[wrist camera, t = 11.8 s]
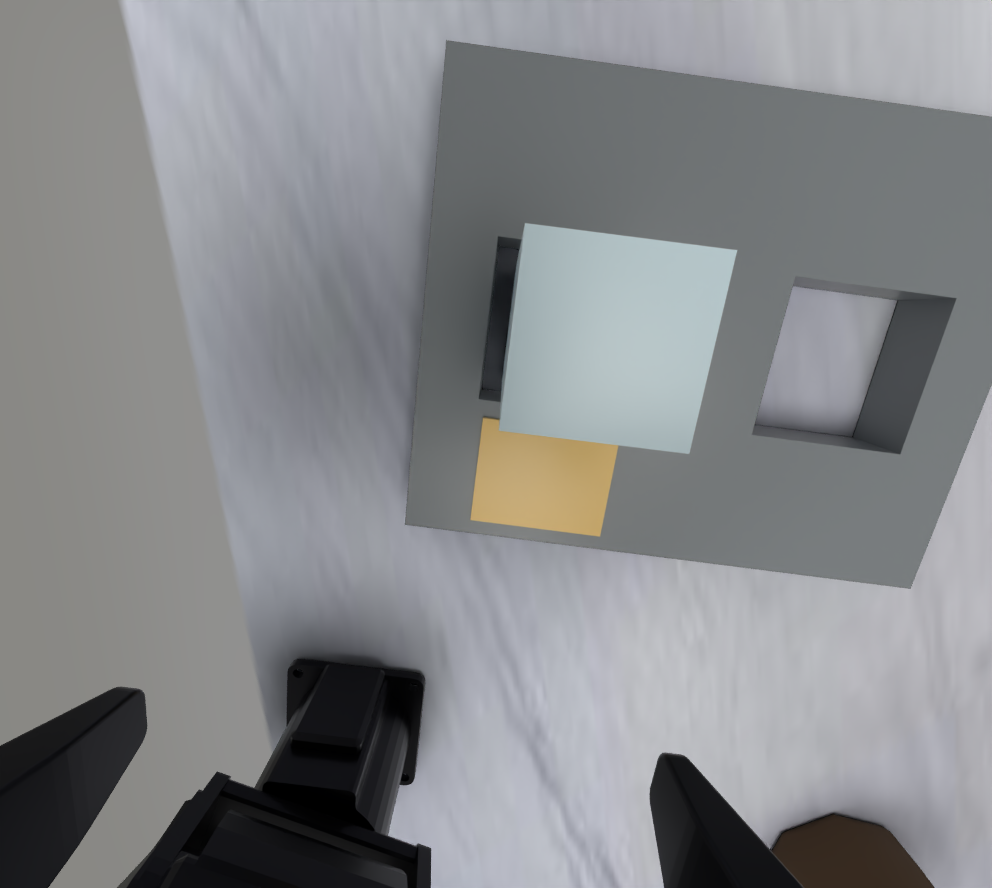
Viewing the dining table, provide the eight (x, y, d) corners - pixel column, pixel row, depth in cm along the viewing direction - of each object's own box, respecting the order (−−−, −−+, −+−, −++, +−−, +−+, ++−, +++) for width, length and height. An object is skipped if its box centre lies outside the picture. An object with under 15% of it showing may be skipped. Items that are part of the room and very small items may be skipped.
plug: (599, 385, 20) (689, 454, 10) (502, 373, 20) (498, 430, 10) (618, 283, 19) (737, 250, 9) (515, 270, 19) (525, 223, 9)
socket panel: (864, 557, 21) (914, 591, 19) (416, 500, 21) (403, 526, 19) (1010, 156, 17) (1099, 128, 15) (454, 79, 17) (445, 36, 14)
